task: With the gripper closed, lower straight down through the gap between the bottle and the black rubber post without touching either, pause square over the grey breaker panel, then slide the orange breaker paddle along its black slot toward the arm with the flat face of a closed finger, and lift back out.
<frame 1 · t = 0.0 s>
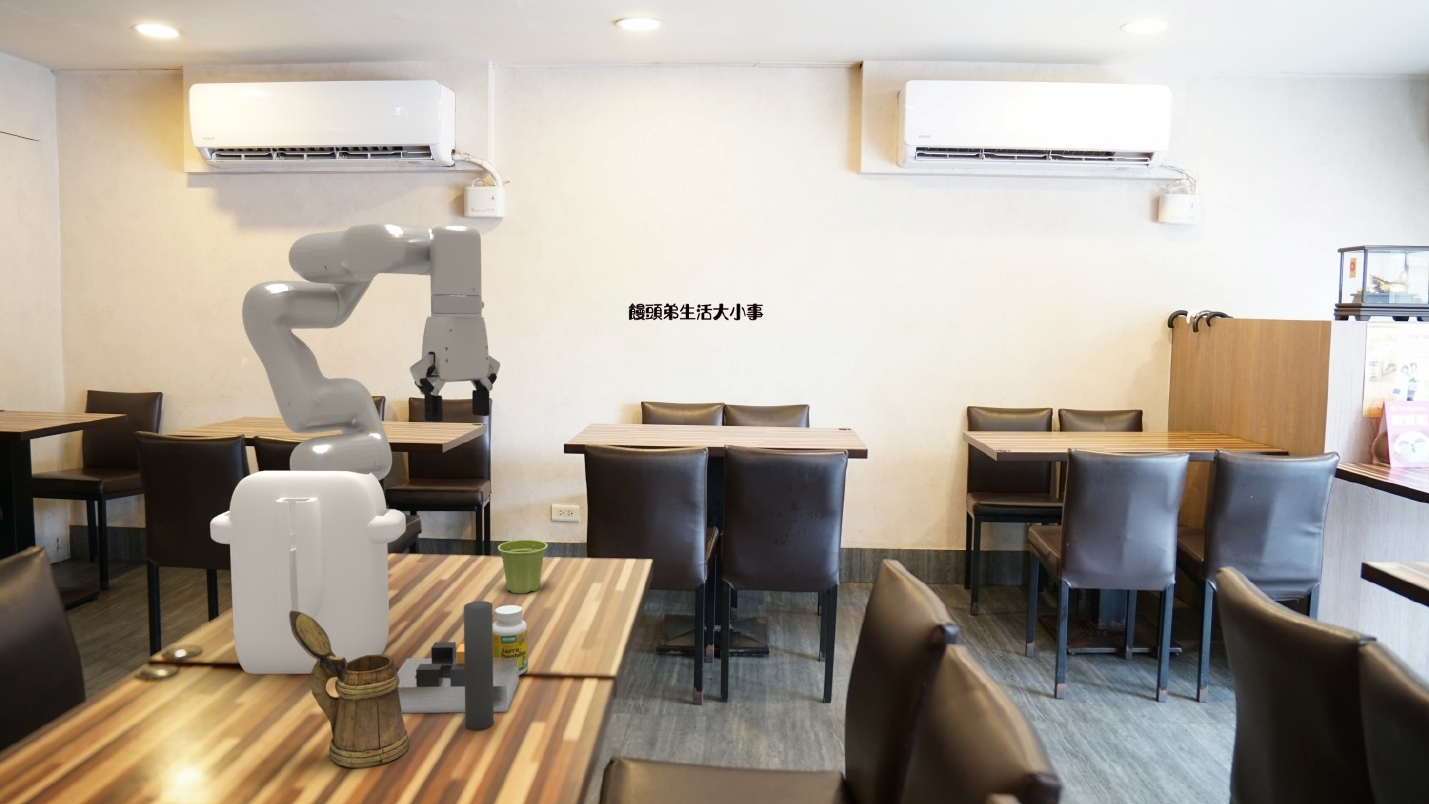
hand: (458, 418, 139), 37 cm above the table, tool pointing down, fingers open, 9 cm apart
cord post: (479, 723, 118), on the table
wooden mug: (351, 752, 110), on the table
breaker paddle: (469, 657, 125), point 6 cm above the table, slide at 0.0 cm
toaster: (310, 668, 135), on the table
plant pot: (523, 590, 175), on the table
supplement bottle: (509, 672, 135), on the table
breaker panel: (455, 696, 126), on the table
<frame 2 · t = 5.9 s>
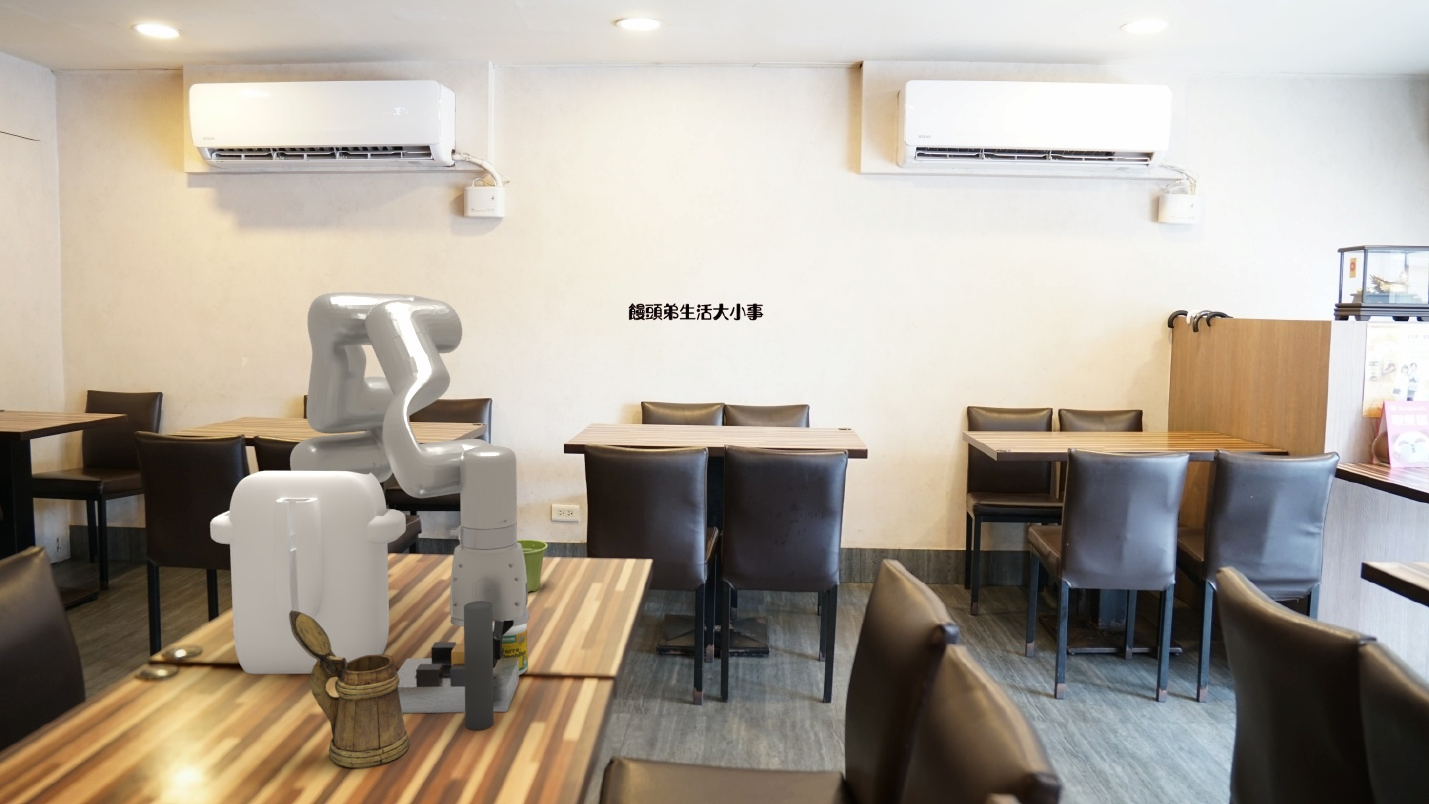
hand: (490, 663, 126), 5 cm above the table, tool pointing down, fingers closed
breaker paddle: (464, 657, 125), point 6 cm above the table, slide at 0.7 cm, touching gripper
everything else where it was.
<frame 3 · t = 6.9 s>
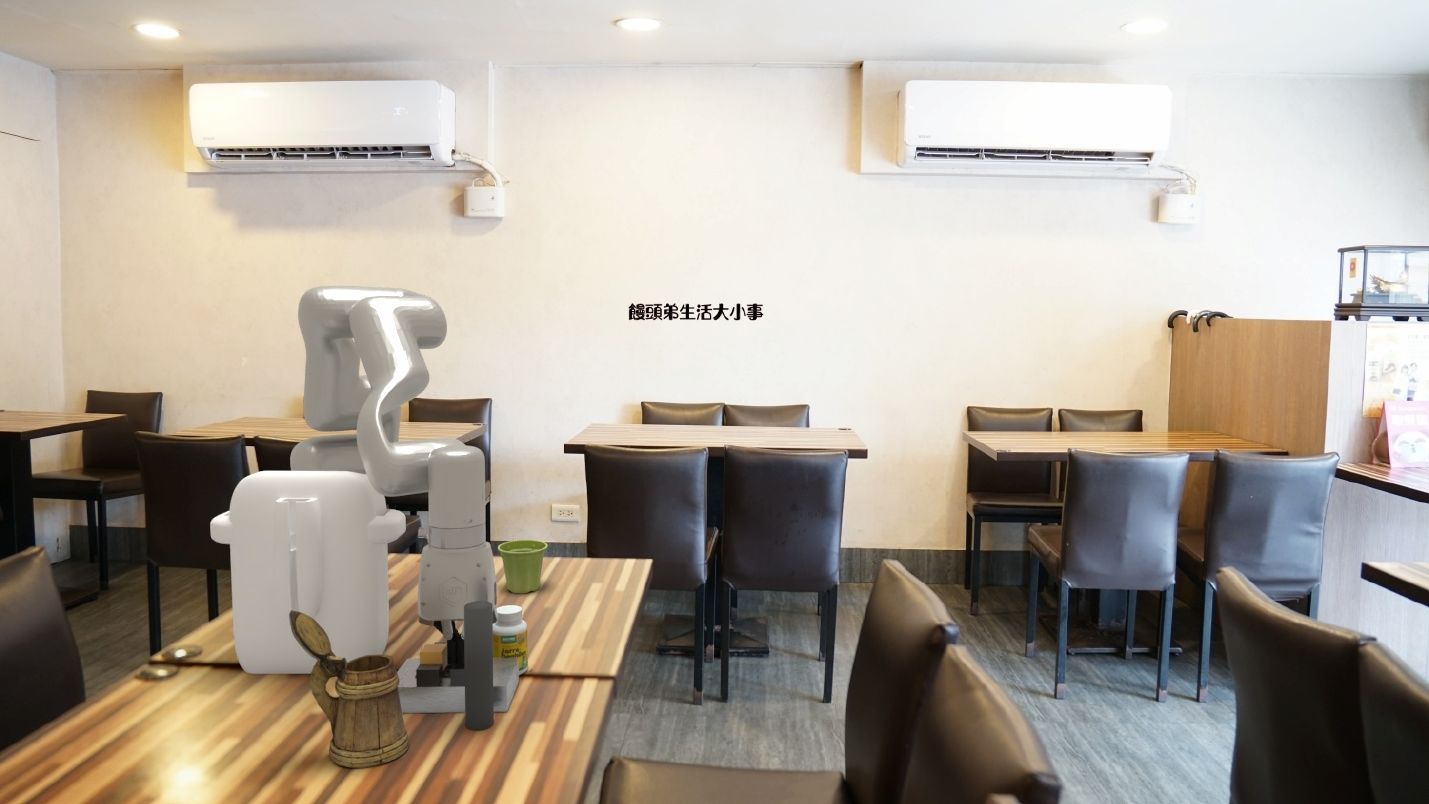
hand: (459, 663, 125), 5 cm above the table, tool pointing down, fingers closed
breaker paddle: (433, 658, 125), point 6 cm above the table, slide at 4.9 cm, touching gripper
everything else where it was.
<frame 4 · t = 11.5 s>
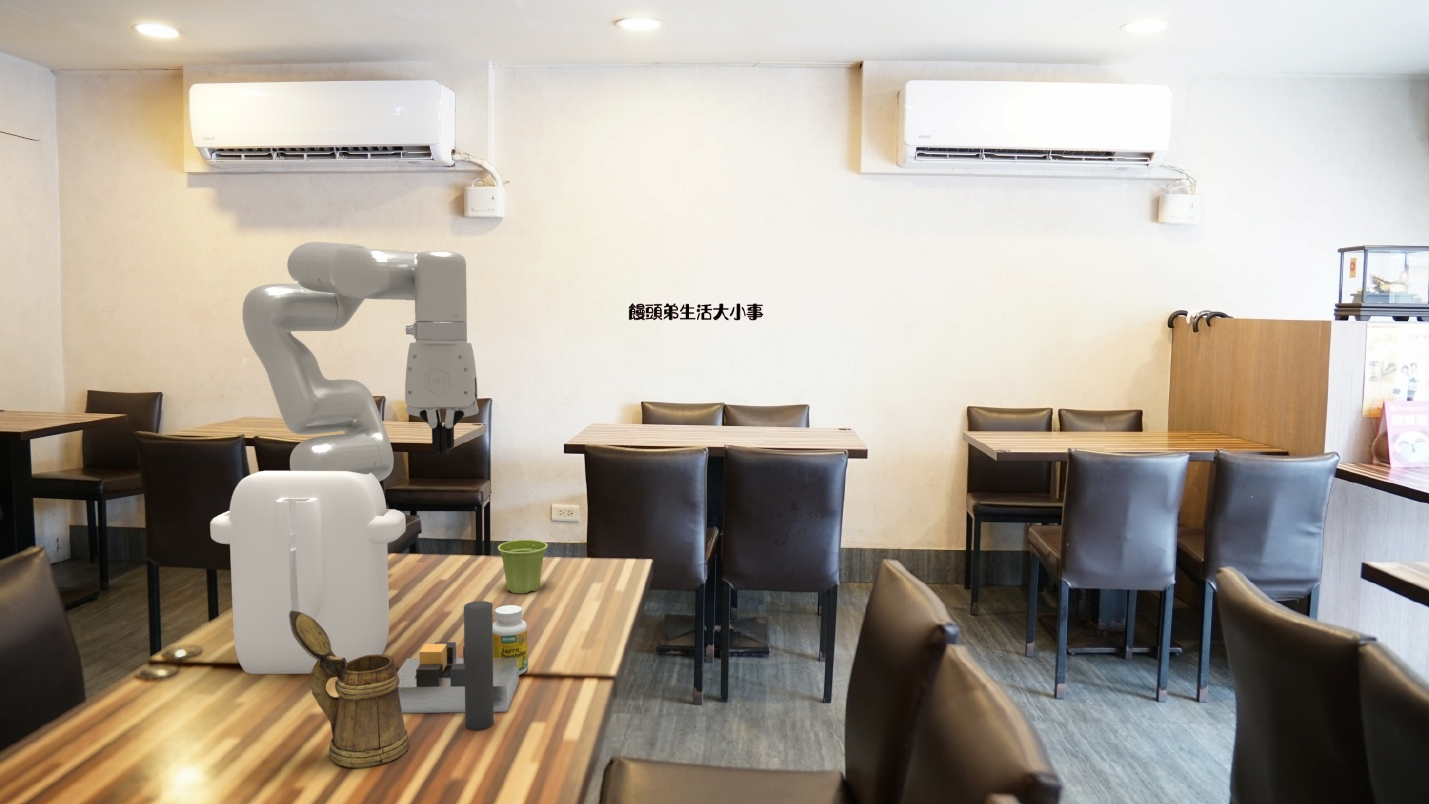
hand: (443, 452, 138), 32 cm above the table, tool pointing down, fingers closed
breaker paddle: (433, 658, 125), point 6 cm above the table, slide at 5.0 cm
everything else where it was.
at the end: breaker paddle slide at 5.0 cm; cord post moved 0.0 cm from its start; supplement bottle moved 0.2 cm from its start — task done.
